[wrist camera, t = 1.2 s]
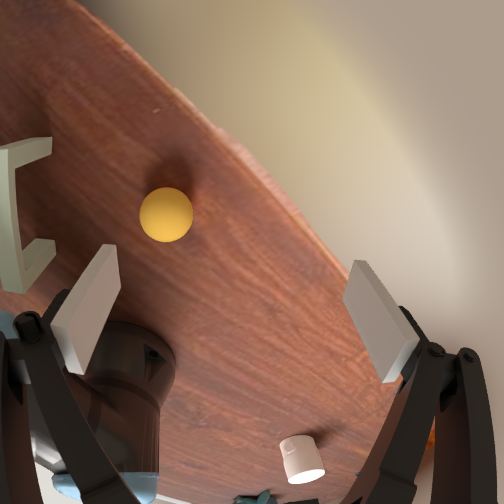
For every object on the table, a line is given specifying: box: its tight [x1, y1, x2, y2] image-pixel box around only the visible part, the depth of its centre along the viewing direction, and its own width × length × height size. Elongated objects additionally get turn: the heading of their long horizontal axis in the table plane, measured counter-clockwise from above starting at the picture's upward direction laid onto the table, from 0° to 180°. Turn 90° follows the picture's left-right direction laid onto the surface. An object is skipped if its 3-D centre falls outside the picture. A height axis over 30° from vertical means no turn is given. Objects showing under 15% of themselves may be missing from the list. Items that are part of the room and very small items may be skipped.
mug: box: [280, 435, 325, 484], centre depth 55 cm, size 12×9×8 cm
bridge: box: [0, 137, 56, 295], centre depth 25 cm, size 3×14×9 cm, turn 171°
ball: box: [139, 187, 193, 242], centre depth 30 cm, size 6×6×6 cm
